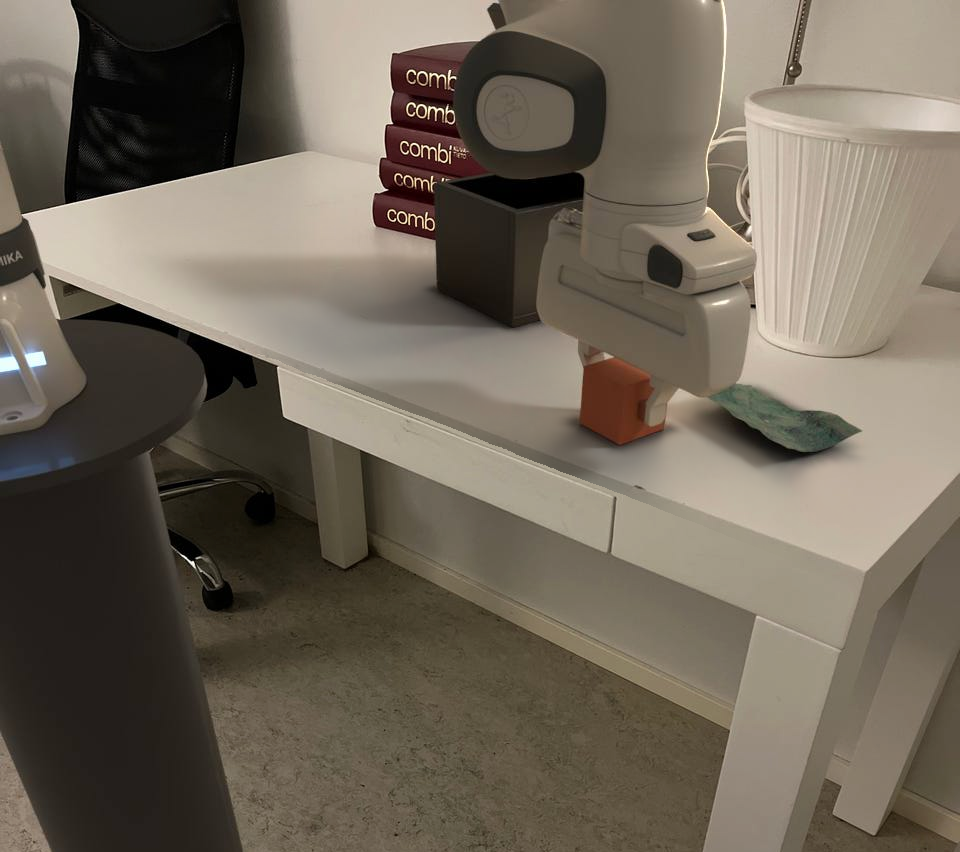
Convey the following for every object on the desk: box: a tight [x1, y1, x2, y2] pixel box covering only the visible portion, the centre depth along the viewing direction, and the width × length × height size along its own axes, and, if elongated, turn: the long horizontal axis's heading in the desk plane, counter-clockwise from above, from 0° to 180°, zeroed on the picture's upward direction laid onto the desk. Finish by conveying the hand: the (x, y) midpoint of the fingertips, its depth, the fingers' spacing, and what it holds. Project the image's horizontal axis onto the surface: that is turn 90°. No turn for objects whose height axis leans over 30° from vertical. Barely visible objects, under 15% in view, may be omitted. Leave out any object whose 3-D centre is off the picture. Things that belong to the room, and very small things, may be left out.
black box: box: [433, 172, 584, 328], centre depth 102 cm, size 16×14×11 cm
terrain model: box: [707, 382, 863, 453], centre depth 80 cm, size 13×8×2 cm, turn 29°
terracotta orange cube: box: [579, 356, 668, 446], centre depth 79 cm, size 5×5×5 cm
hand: (623, 408), depth 79 cm, fingers closed on terracotta orange cube, 5 cm apart
